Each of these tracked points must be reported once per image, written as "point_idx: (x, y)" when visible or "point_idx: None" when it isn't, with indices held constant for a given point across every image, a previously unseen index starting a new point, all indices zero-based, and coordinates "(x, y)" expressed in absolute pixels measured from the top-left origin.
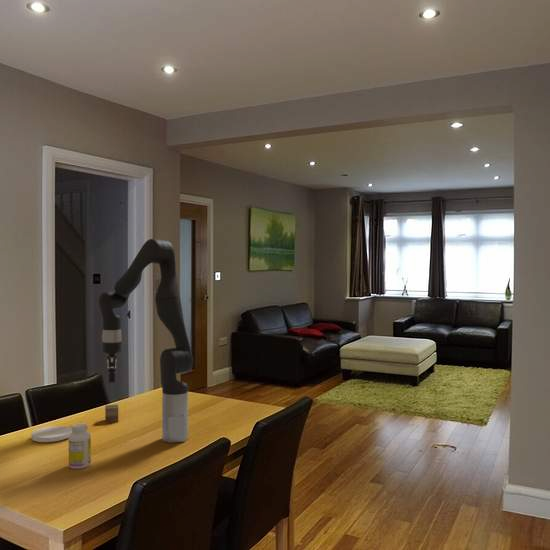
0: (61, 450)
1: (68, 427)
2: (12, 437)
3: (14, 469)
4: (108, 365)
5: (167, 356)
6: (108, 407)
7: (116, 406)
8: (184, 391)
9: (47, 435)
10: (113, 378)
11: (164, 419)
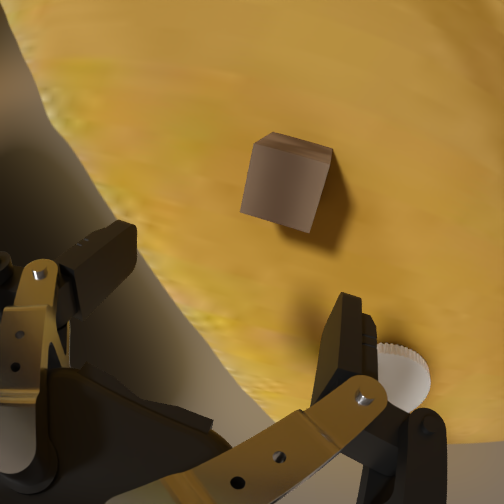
0: (485, 379)
1: None
2: None
3: (493, 434)
4: (277, 500)
5: None
6: (298, 212)
7: (299, 166)
8: None
9: (398, 405)
10: (375, 342)
11: None
